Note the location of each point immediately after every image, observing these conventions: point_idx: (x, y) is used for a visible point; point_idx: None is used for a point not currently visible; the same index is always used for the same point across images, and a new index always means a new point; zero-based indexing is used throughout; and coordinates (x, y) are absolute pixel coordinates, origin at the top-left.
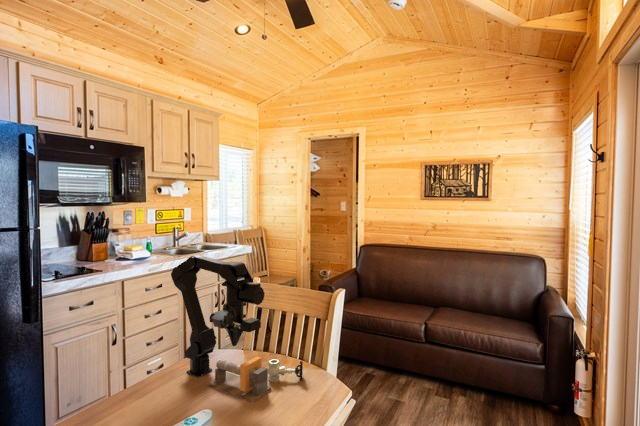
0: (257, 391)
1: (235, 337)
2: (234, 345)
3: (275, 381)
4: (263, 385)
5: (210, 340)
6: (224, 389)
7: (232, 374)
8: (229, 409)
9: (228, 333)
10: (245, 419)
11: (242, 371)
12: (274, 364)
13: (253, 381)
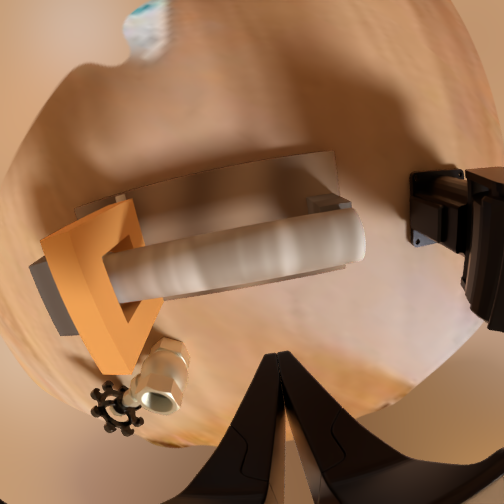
0: None
1: (225, 434)
2: (262, 361)
3: (153, 347)
4: None
5: (501, 281)
6: (220, 168)
7: (309, 273)
8: (96, 115)
9: (363, 434)
10: (30, 134)
11: (73, 225)
12: (139, 389)
13: None
